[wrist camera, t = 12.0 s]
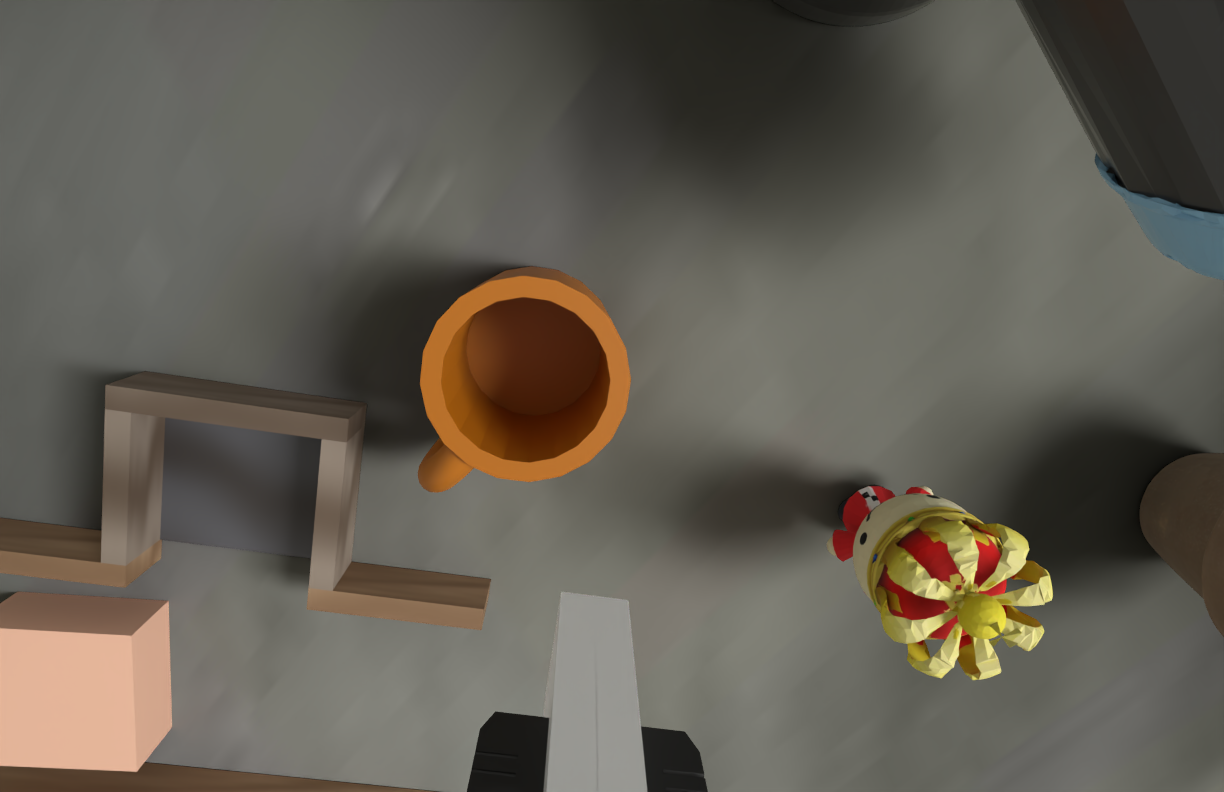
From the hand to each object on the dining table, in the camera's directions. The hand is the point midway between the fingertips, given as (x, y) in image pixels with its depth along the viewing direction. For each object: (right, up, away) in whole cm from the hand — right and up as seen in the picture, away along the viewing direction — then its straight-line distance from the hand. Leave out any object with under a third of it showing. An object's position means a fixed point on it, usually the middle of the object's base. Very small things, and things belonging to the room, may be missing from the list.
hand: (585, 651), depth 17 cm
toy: (+15, -1, +27) cm, 31 cm away
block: (-29, -9, +26) cm, 40 cm away
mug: (-5, +7, +24) cm, 26 cm away
